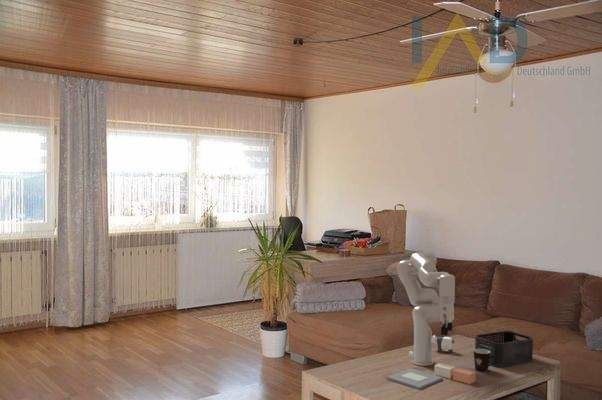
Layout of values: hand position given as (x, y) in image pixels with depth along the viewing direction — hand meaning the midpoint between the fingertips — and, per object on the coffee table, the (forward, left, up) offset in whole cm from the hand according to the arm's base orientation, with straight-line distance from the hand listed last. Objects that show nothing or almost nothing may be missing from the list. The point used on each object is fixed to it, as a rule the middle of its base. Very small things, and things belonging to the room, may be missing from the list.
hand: (446, 332), depth 292 cm
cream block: (-3, +4, -24) cm, 24 cm away
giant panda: (-27, +39, -24) cm, 52 cm away
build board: (-10, -13, -23) cm, 29 cm away
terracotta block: (+8, +4, -24) cm, 25 cm away
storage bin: (+5, +50, -24) cm, 56 cm away
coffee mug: (+7, +25, -24) cm, 35 cm away
